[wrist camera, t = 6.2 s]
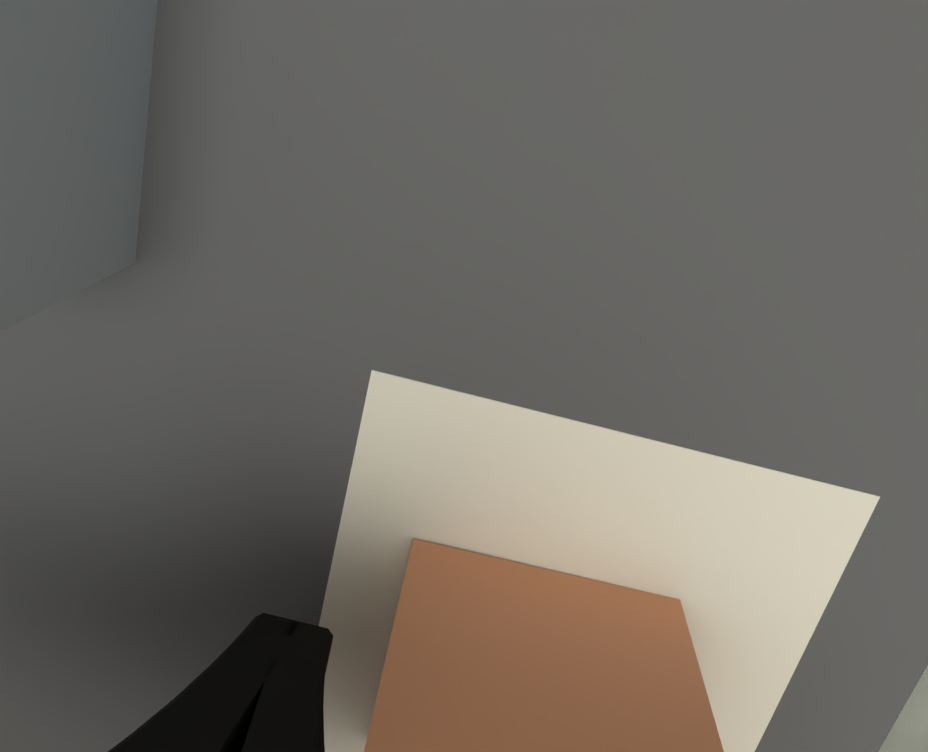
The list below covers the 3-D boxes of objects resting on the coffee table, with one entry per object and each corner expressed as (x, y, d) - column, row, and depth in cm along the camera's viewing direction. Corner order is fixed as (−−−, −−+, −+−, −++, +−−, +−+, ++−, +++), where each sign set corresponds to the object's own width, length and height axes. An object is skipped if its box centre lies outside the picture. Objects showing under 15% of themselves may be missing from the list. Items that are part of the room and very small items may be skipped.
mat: (654, 1126, 19) (655, 1143, 19) (-269, 905, 19) (-282, 918, 19) (1257, 48, 10) (1279, 49, 10) (-470, -395, 10) (-502, -409, 10)
